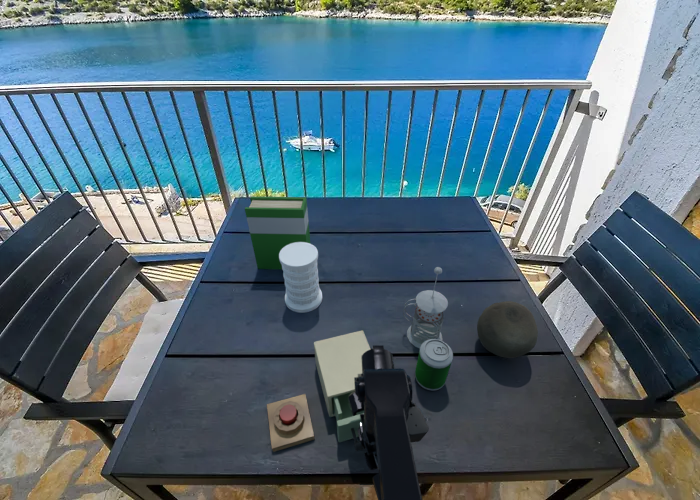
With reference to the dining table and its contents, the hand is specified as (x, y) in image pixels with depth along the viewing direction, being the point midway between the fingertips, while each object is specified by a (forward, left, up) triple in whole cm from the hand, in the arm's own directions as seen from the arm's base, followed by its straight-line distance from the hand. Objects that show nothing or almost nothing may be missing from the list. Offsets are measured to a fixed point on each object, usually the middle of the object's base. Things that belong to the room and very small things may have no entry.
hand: (376, 458), depth 67 cm
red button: (+14, +15, -3) cm, 21 cm away
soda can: (+15, -20, -6) cm, 26 cm away
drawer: (+12, 0, -5) cm, 13 cm away
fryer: (+20, 0, -6) cm, 21 cm away
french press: (+28, -24, -6) cm, 38 cm away
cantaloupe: (+18, -42, -6) cm, 46 cm away
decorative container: (+51, +5, -6) cm, 52 cm away
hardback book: (+70, +8, -6) cm, 71 cm away
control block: (+14, +15, -6) cm, 22 cm away
